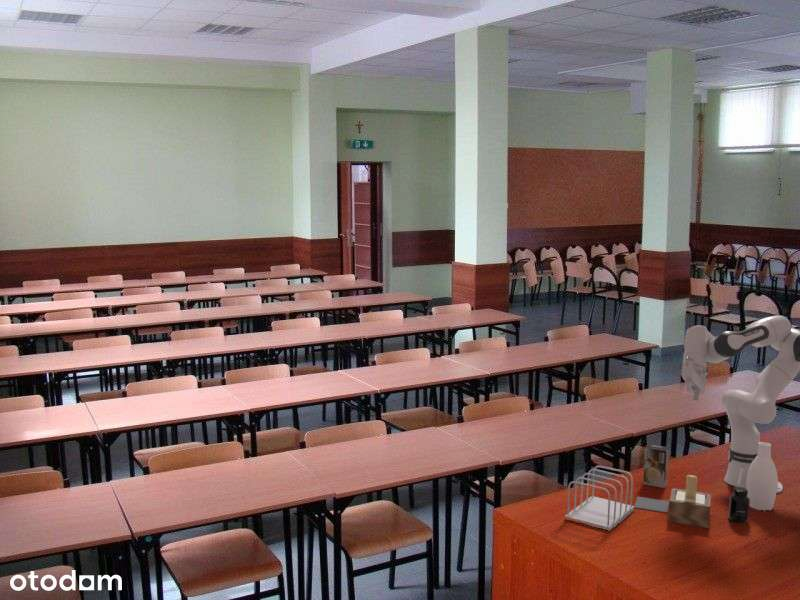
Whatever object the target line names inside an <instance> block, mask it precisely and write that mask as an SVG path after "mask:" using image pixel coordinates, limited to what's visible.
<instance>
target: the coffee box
mask: <svg viewBox="0 0 800 600" xmlns="http://www.w3.org/2000/svg"><path fill="white" fill-rule="evenodd" d="M643 458H644V459H643V477H642V478H643V482H642V485H645V486H652V487H658V488H663V489H666V487H667V485H668V470H669V468H668V465H669V446H663V445H657V444H656V445H655V444H652V443H651V444H650V443H647V444H646V445H645V447H644V457H643Z"/></svg>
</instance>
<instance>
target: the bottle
mask: <svg viewBox="0 0 800 600" xmlns="http://www.w3.org/2000/svg"><path fill="white" fill-rule="evenodd" d="M771 449H772V444H771V443H770V442H766V441H760V442H759V448H758V455H757V456H756V458H755V459H754V460H753V461H752V463H751V465H750V467H749V470H748V474H747V483H746V489H747V490H748V495H747V497H749V499H750V507H749V508H751V509H753V508H754V509H753V510H756V509H757V511H761V510H763V511H762V512H767V511H766V510H769V511H772V510H773V508H774V504H775V501H776V498H777V493H776V492H777V485H778V482H779V478H778V471H777V468H776V464H775V462H774V461H773V459H772V456H771V454H772V453H771V452H772V450H771Z"/></svg>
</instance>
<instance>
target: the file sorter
mask: <svg viewBox="0 0 800 600" xmlns="http://www.w3.org/2000/svg"><path fill="white" fill-rule="evenodd" d="M598 468H601V469H606V470H610V471H615V472H620V473H624V474H627V475H629V477H630V478H631V481H630V482H629V480H628V478H627V477H626V476H624V475H622V474H618V473H614V472H610V471H605V470H601V469H598ZM591 472H592V473H591ZM595 472H599V473H602V474H607V475H610V476H615V477H620V478H623V479H625V481H626V497H625V503H623V494H624V493H623V492H624V487H623V484H622V483H621V481H619V480H618V479H614V478H611V477H606V476H602V475H599V474H596V473H595ZM585 476H587V477H585ZM590 476H592V479H591V478H590ZM595 477H596V478H600V479H604V480H608V481H613V482H616V483H618V484H619V485H620V499H619V500H620V501H619V502H618V501H617V497H618V496H617V494H618V490H617V489H616V487H615V486H614V485H613V484H611V483H607V482H603V481H599V480H595ZM579 480H581V482H580V481H579ZM584 480H585V481H586V482H587V483H584ZM590 482H592V484H590ZM595 483H597V484H600V485H603V486H604V485H605V486H608V487H611V488H612V489H613V490H614V500H611V494H610V492H609V490H608V489H607V488H605V487H601V486H597V485H595ZM629 483H631V485H630V484H629ZM572 484H574V485H575V486H574V497H573V498H574V500H573V501H574V503H573V509H572V510H570V501H571V499H570V495H571V493H570V490H571V485H572ZM578 485H581V486H580V500H579V501H580V504H579V505H578V506H577V493H578V492H577V491H578V490H577V489H578ZM584 486H586V499H585V500H584V501H583V493H584V490H583V489H584ZM589 487H592V493H591V495H592V496H591V495H590V497H589ZM629 487H630V504H628V499H629ZM595 489H597V490H598V489H599V490H602V491H605V492H606V493H607V495H608V499H607V498H603V497H602V498H601V497H598V496H595ZM633 492H634V477H633V475H632V474H631V472H629V471H627V470H622V469H618V468H617V469H616V468H613V467H608V466H603V465H596V466H594V467H593V468H592V469H590V470H589V471H588V472H585V473H583V475H582V476H579V477H578V478H576V479H575V481H574V480H573V481H570V482H569V484H568V486H567V513H566V514H565V515H564V518H565V517H567V518H570V519H573V520H576V521H580V522H582V523H586V524H589V525H592V526H595V527H599V528H603V529H606V530H611V529H612V528H613V527H614V528H615V527H616V526H618V525H619V524H621V523H622V522H623V521H624V520H625V519H626V518H627V517H628V516H629V515H630V514H632V513H633V512H635V508H634V506H635V505H633V498H634V497H633ZM618 523H619V524H618ZM617 524H618V525H617ZM614 528H613V529H614ZM613 529H612V530H613ZM612 530H611V531H612Z"/></svg>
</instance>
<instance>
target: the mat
mask: <svg viewBox="0 0 800 600" xmlns="http://www.w3.org/2000/svg"><path fill="white" fill-rule="evenodd" d="M669 501H670V500H669ZM669 501H668V500H663V499H655V498H650V497H645V496H644V497H642V496H637V498H636V501H635V504H634V505H633V506H634V509H637V510H638V509H639V510H644V511H650V512H651V511H652V512H657V513H662V514H668V512H669Z"/></svg>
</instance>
